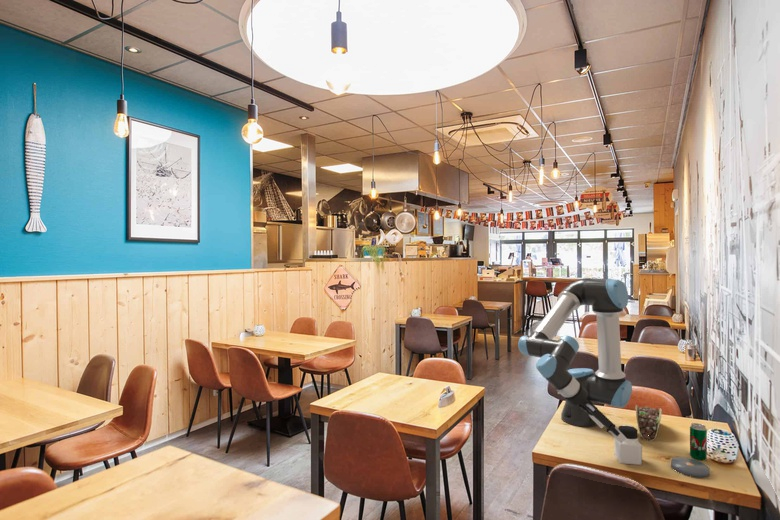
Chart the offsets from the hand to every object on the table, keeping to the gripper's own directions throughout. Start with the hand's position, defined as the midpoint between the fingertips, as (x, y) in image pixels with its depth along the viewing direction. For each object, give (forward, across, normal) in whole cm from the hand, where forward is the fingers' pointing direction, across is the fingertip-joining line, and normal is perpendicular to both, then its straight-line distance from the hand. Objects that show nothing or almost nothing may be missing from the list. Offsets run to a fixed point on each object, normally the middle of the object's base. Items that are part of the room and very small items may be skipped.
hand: (613, 432), depth 158 cm
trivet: (+23, +7, +9) cm, 26 cm away
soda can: (+30, -2, +16) cm, 34 cm away
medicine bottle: (+11, 0, -3) cm, 12 cm away
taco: (+29, -28, +14) cm, 43 cm away
